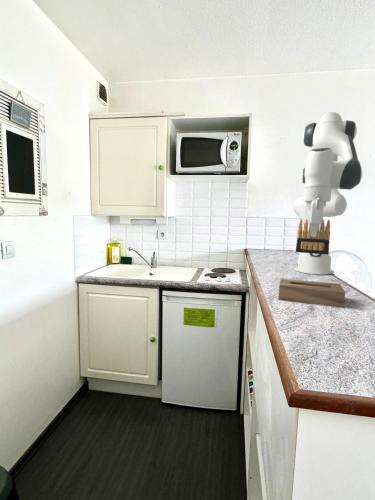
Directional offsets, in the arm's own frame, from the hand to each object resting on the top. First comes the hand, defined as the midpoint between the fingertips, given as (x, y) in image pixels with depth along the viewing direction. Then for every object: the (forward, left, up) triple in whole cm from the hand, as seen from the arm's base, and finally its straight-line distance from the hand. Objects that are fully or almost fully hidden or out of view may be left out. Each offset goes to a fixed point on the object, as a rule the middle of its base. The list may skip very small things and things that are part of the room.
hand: (313, 236), depth 97 cm
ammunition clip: (0, 0, -6) cm, 6 cm away
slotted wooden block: (+3, 0, -22) cm, 22 cm away
